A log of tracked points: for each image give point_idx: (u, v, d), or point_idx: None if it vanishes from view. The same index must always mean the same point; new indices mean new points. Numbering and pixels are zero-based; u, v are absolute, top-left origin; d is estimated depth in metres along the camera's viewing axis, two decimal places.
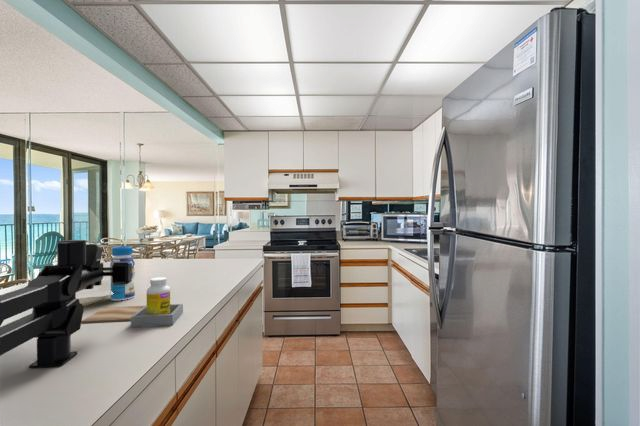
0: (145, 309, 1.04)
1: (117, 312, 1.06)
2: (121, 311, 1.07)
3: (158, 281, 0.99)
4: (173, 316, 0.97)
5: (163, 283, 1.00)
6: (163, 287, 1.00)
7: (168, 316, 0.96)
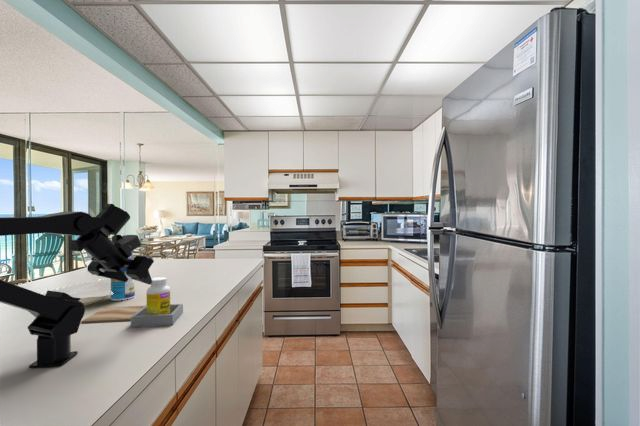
0: (145, 309, 1.04)
1: (117, 312, 1.06)
2: (121, 311, 1.07)
3: (158, 281, 0.99)
4: (173, 316, 0.97)
5: (163, 283, 1.00)
6: (163, 287, 1.00)
7: (168, 316, 0.96)
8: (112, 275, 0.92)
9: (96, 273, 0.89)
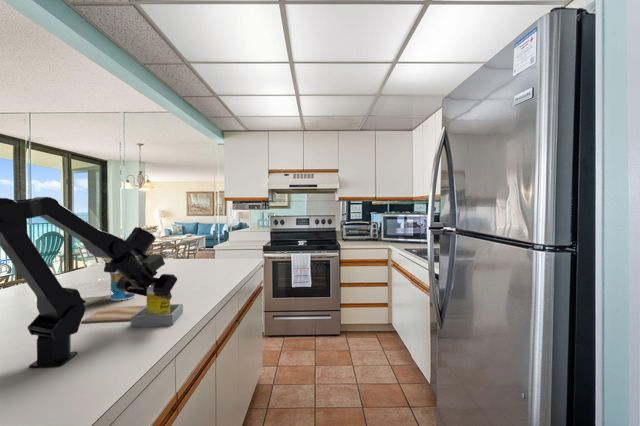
0: (145, 309, 1.04)
1: (117, 312, 1.06)
2: (121, 311, 1.07)
3: None
4: (173, 316, 0.97)
5: None
6: None
7: (168, 316, 0.96)
8: (141, 291, 1.00)
9: (124, 290, 0.97)
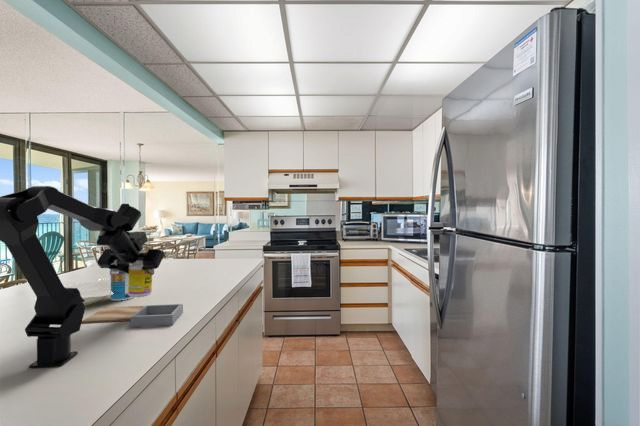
0: (145, 309, 1.04)
1: (117, 312, 1.06)
2: (121, 311, 1.07)
3: None
4: (173, 316, 0.97)
5: None
6: None
7: (168, 316, 0.96)
8: (123, 268, 1.02)
9: (107, 266, 0.98)
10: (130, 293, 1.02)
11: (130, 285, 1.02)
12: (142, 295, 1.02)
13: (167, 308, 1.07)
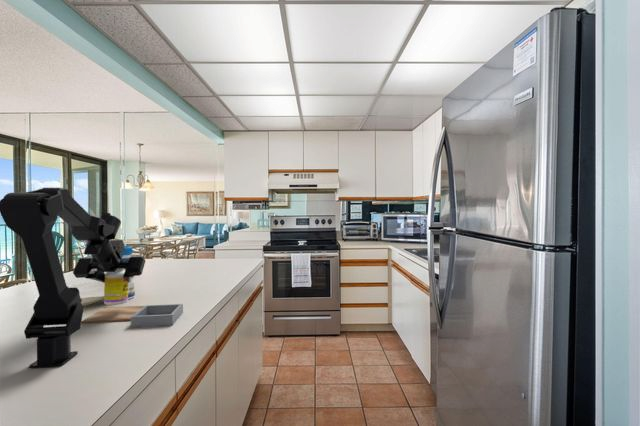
0: (145, 309, 1.04)
1: (117, 312, 1.06)
2: (121, 311, 1.07)
3: None
4: (173, 316, 0.97)
5: None
6: (124, 271, 1.06)
7: (168, 316, 0.96)
8: (99, 276, 1.02)
9: (84, 276, 0.98)
10: (107, 301, 1.02)
11: (107, 293, 1.02)
12: (120, 302, 1.04)
13: (167, 308, 1.07)
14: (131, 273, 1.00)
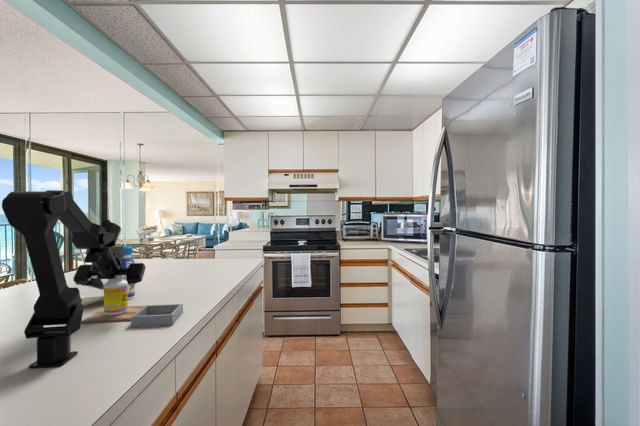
0: (145, 309, 1.04)
1: None
2: None
3: (119, 275, 1.04)
4: (173, 316, 0.97)
5: (122, 277, 1.06)
6: (123, 281, 1.06)
7: (168, 316, 0.96)
8: (95, 283, 1.02)
9: (84, 283, 0.98)
10: (107, 312, 1.03)
11: (107, 304, 1.03)
12: (120, 313, 1.04)
13: (167, 308, 1.07)
14: (131, 280, 1.00)
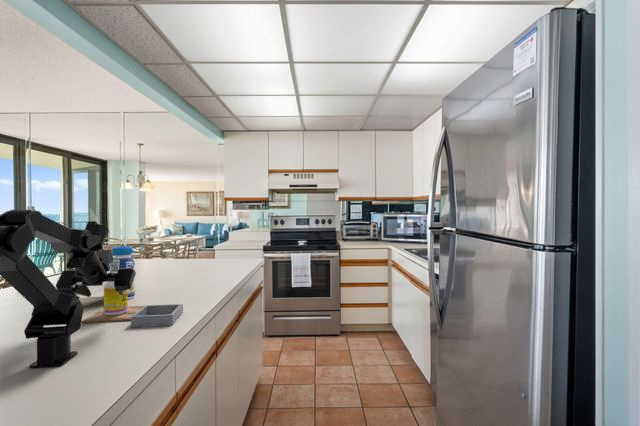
0: (145, 309, 1.04)
1: None
2: None
3: None
4: (173, 316, 0.97)
5: None
6: None
7: (168, 316, 0.96)
8: (81, 290, 0.94)
9: None
10: (107, 312, 1.03)
11: (107, 304, 1.03)
12: (120, 313, 1.04)
13: (167, 308, 1.07)
14: (120, 287, 0.92)
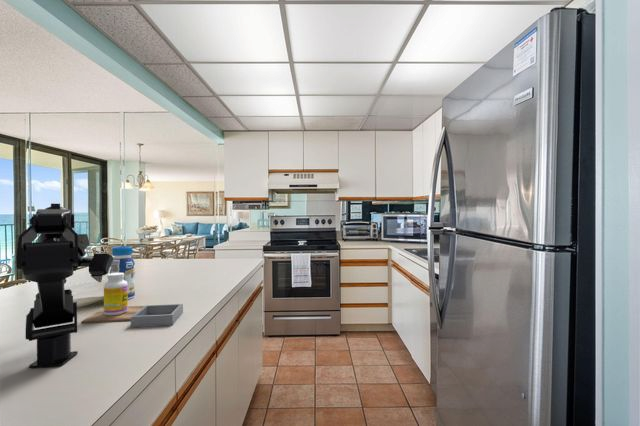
0: (145, 309, 1.04)
1: None
2: None
3: (119, 275, 1.04)
4: (173, 316, 0.97)
5: (122, 277, 1.06)
6: (123, 281, 1.06)
7: (168, 316, 0.96)
8: None
9: None
10: (107, 312, 1.03)
11: (107, 304, 1.03)
12: (120, 313, 1.04)
13: (167, 308, 1.07)
14: (95, 272, 0.87)
